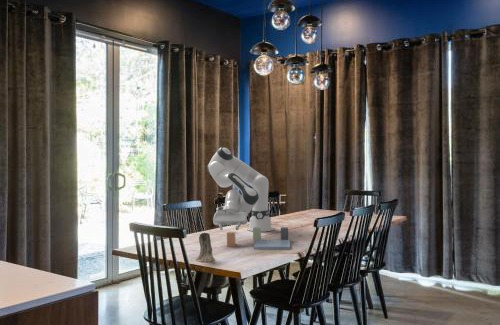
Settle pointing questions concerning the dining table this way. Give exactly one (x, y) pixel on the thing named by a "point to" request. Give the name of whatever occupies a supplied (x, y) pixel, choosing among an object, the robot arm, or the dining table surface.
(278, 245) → the blue-grey baseplate
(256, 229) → the sage brick
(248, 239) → the dining table surface
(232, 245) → the terracotta brick
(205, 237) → the tree stump
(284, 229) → the charcoal brick
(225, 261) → the dining table surface
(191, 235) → the dining table surface
